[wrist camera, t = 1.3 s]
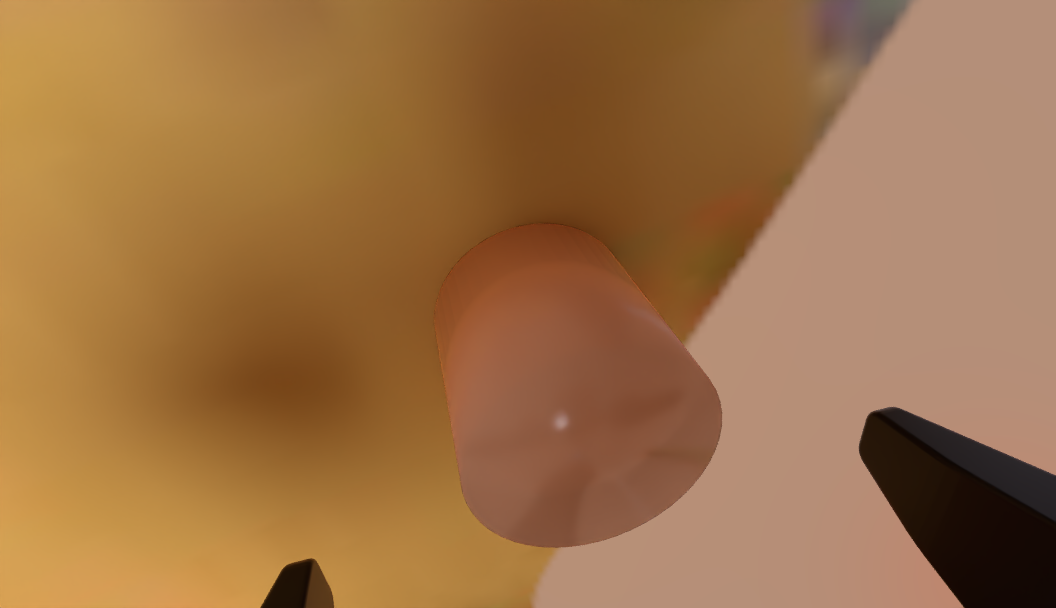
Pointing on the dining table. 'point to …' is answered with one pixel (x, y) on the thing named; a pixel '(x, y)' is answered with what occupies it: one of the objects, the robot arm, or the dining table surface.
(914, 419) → the robot arm
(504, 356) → the terracotta cylinder
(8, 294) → the dining table surface
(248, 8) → the dining table surface
